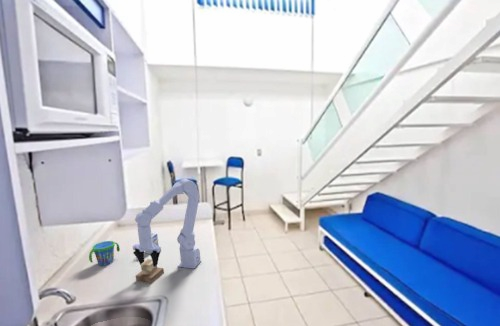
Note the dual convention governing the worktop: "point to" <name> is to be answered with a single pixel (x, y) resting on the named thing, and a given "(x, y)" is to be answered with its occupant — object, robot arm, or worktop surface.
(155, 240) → the medicine box
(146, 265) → the maple cube
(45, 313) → the worktop surface
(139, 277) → the walnut block
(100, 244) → the snack cup
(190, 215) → the robot arm
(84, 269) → the worktop surface
